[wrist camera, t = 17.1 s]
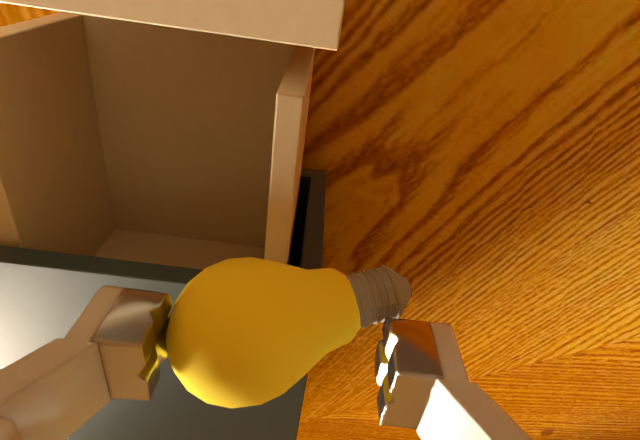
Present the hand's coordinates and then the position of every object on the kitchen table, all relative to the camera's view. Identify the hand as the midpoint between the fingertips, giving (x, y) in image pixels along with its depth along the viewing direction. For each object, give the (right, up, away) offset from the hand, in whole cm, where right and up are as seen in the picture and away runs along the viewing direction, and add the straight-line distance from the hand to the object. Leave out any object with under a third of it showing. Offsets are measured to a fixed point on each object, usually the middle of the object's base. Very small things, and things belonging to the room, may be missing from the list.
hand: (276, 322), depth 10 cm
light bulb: (0, +1, +2) cm, 2 cm away
